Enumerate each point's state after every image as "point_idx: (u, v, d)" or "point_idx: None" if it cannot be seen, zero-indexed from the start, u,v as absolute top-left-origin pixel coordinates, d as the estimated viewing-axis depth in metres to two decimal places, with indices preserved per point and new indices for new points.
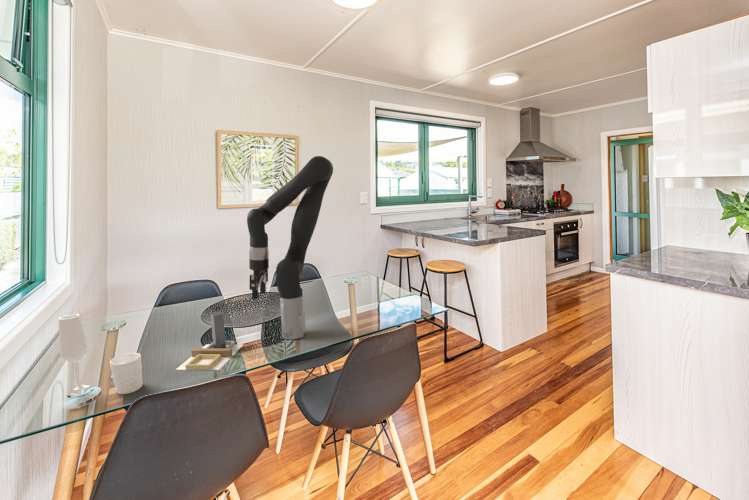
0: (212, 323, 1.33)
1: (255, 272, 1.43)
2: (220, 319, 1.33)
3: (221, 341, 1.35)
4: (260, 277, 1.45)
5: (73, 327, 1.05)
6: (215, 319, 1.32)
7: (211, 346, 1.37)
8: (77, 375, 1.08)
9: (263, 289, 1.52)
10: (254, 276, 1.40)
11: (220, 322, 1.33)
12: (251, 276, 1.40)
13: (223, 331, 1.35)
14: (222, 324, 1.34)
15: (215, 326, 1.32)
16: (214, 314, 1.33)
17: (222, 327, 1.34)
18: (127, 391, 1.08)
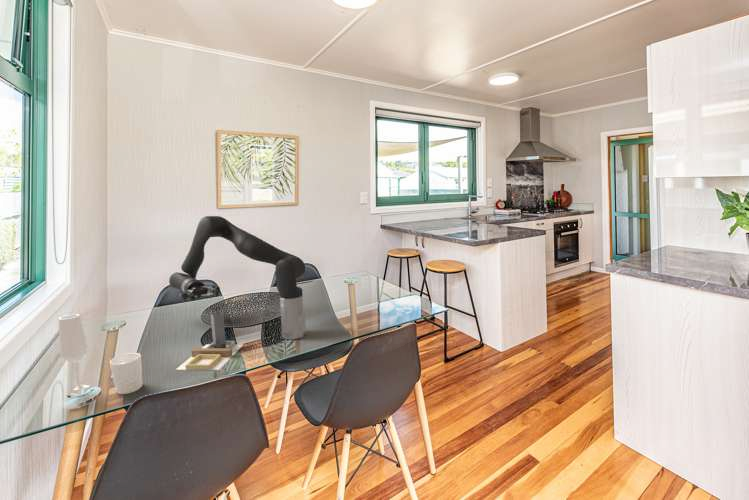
0: (212, 323, 1.33)
1: (187, 292, 1.47)
2: (220, 319, 1.33)
3: (221, 341, 1.35)
4: None
5: (73, 327, 1.05)
6: (215, 319, 1.32)
7: (211, 346, 1.37)
8: (77, 375, 1.08)
9: (214, 292, 1.45)
10: None
11: (220, 322, 1.33)
12: (180, 295, 1.44)
13: (223, 331, 1.35)
14: (222, 324, 1.34)
15: (215, 326, 1.32)
16: (214, 314, 1.33)
17: (222, 327, 1.34)
18: (127, 391, 1.08)
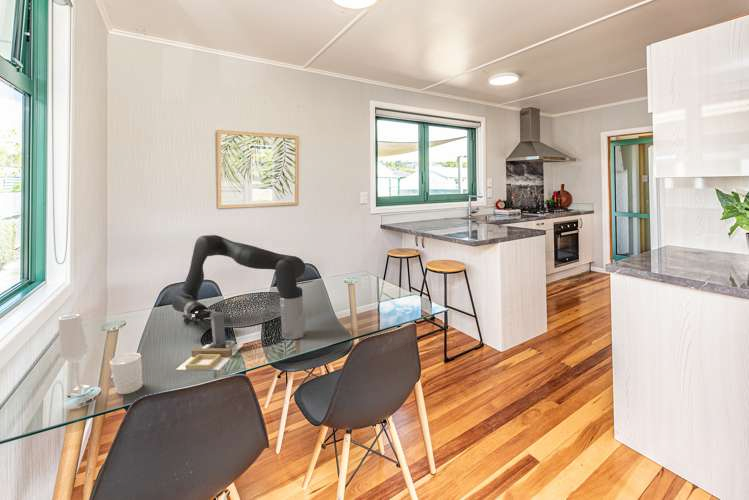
0: (212, 323, 1.33)
1: (190, 316, 1.48)
2: (220, 319, 1.33)
3: (221, 341, 1.35)
4: (195, 313, 1.47)
5: (73, 327, 1.05)
6: (215, 319, 1.32)
7: (211, 346, 1.37)
8: (77, 375, 1.08)
9: None
10: (182, 316, 1.46)
11: (220, 322, 1.33)
12: (183, 319, 1.46)
13: (223, 331, 1.35)
14: (222, 324, 1.34)
15: (215, 326, 1.32)
16: (214, 314, 1.33)
17: (222, 327, 1.34)
18: (127, 391, 1.08)
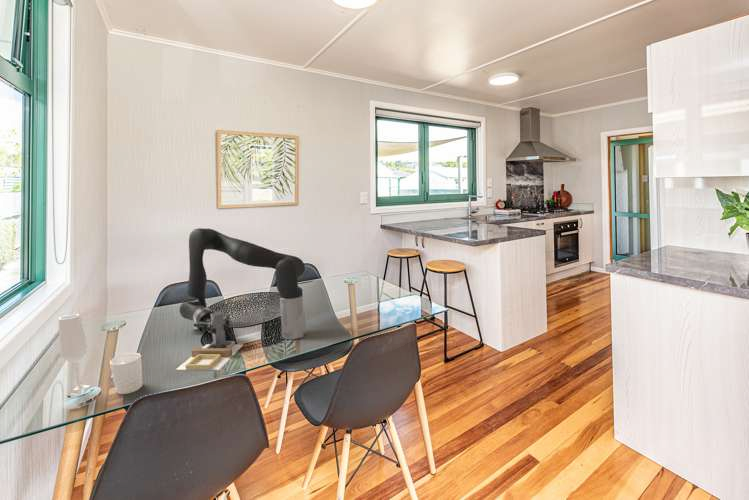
0: (212, 323, 1.33)
1: (200, 324, 1.39)
2: (220, 319, 1.33)
3: (221, 341, 1.35)
4: (206, 321, 1.38)
5: (73, 327, 1.05)
6: (215, 319, 1.32)
7: (211, 346, 1.37)
8: (77, 375, 1.08)
9: None
10: (194, 326, 1.35)
11: (220, 322, 1.33)
12: (194, 329, 1.35)
13: (223, 331, 1.35)
14: (222, 324, 1.34)
15: (215, 326, 1.32)
16: (214, 314, 1.33)
17: (222, 327, 1.34)
18: (127, 391, 1.08)
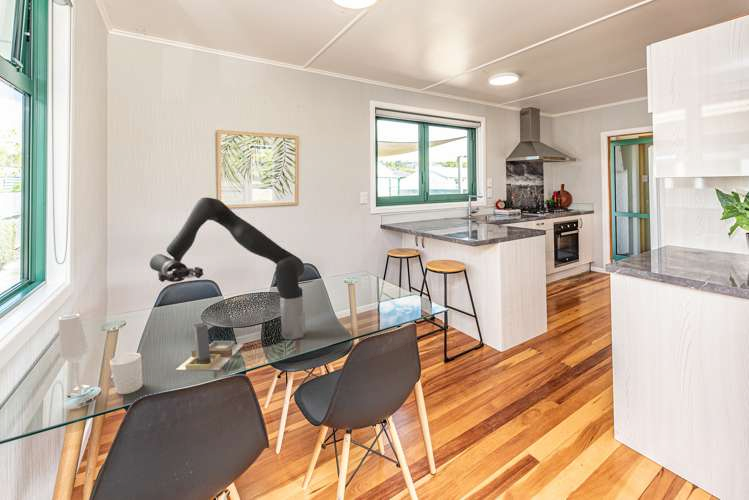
0: (195, 335, 1.22)
1: None
2: (203, 331, 1.22)
3: (205, 355, 1.23)
4: None
5: (73, 327, 1.05)
6: (198, 331, 1.20)
7: (211, 346, 1.37)
8: (77, 375, 1.08)
9: (196, 273, 1.32)
10: None
11: (204, 335, 1.22)
12: None
13: (207, 344, 1.23)
14: (206, 336, 1.22)
15: (198, 339, 1.21)
16: (197, 326, 1.22)
17: (206, 340, 1.23)
18: (127, 391, 1.08)
